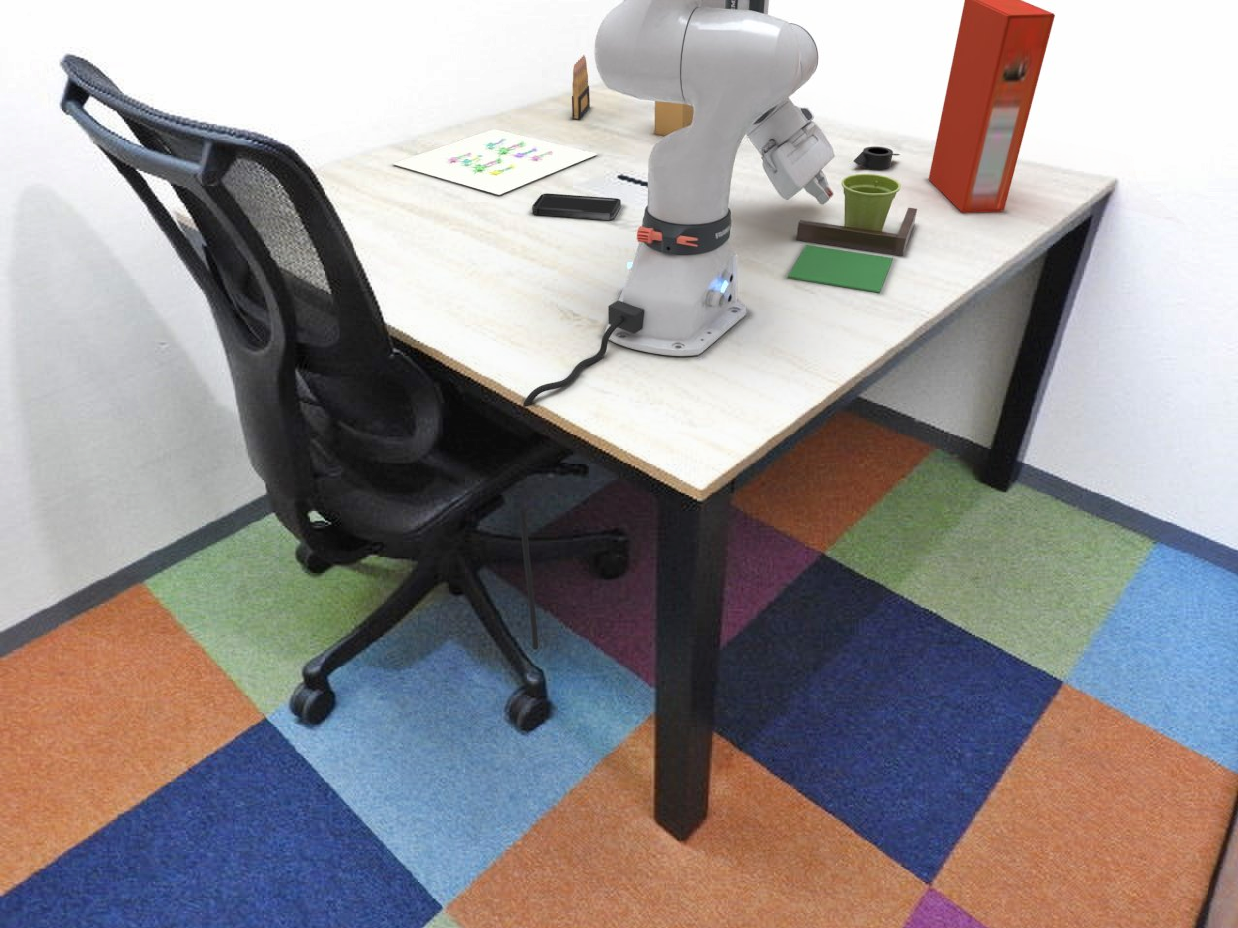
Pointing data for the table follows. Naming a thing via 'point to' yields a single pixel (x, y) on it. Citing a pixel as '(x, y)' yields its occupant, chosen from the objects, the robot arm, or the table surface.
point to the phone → (577, 206)
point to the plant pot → (868, 200)
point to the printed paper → (495, 160)
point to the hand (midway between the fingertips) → (828, 200)
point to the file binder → (988, 101)
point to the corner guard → (858, 235)
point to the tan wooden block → (678, 114)
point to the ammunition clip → (580, 89)
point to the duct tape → (875, 158)
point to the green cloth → (841, 268)
